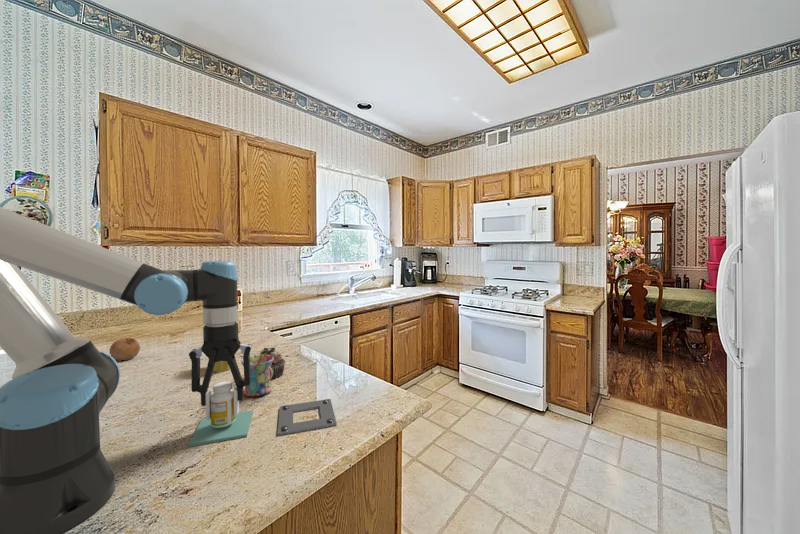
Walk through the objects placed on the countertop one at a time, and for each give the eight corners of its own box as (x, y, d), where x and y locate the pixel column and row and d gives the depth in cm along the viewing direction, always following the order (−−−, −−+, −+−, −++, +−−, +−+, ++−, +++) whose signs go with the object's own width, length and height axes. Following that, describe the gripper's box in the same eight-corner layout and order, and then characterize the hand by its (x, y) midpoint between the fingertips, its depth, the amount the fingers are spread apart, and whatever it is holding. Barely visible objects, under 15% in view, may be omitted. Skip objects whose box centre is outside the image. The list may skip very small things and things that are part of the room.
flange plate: (336, 425, 80) (336, 421, 80) (277, 435, 75) (277, 432, 75) (330, 400, 93) (330, 397, 93) (280, 408, 88) (280, 405, 88)
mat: (246, 436, 75) (246, 434, 75) (188, 446, 71) (188, 444, 71) (252, 412, 86) (252, 410, 86) (202, 419, 82) (202, 417, 82)
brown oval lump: (136, 365, 130) (147, 344, 130) (107, 366, 122) (118, 343, 122) (131, 353, 135) (141, 332, 135) (102, 353, 128) (113, 331, 127)
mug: (236, 394, 97) (235, 360, 97) (263, 383, 105) (262, 352, 105) (258, 404, 91) (257, 368, 90) (285, 392, 98) (285, 359, 98)
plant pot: (224, 375, 112) (223, 348, 112) (199, 373, 114) (198, 347, 113) (243, 365, 123) (242, 340, 122) (219, 363, 124) (219, 339, 124)
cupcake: (285, 378, 109) (285, 350, 109) (255, 383, 105) (254, 354, 105) (285, 369, 118) (284, 343, 117) (256, 373, 114) (256, 346, 114)
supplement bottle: (227, 414, 82) (227, 378, 82) (239, 420, 79) (239, 383, 79) (206, 424, 78) (205, 386, 77) (218, 431, 75) (217, 391, 74)
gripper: (262, 317, 84) (264, 402, 85) (182, 322, 78) (185, 413, 79) (259, 323, 77) (261, 416, 78) (171, 329, 71) (174, 429, 72)
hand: (223, 414), depth 78 cm, fingers closed on supplement bottle, 5 cm apart
